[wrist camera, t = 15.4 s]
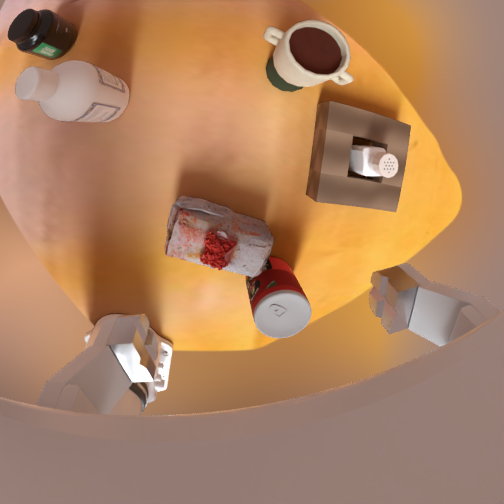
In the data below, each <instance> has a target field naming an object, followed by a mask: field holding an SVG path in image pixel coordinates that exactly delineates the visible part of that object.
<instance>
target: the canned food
mask: <svg viewBox="0 0 504 504" xmlns="http://www.w3.org/2000/svg"><path fill="white" fill-rule="evenodd" d="M264 269H265V270H263V271H262V272H261V274H260V275H258V276H255V277H254V278H252V277H250V276H246V284H247V289H248V294H249V299H250V304H251V309H252V314H253V318H254V322H255V324H256V326H257V328H258V329H259V331H260V332H262V333H263V334H265V335H267V336H269V337H272V338H285V337H290V336H293V335H295V334H297V333H298V332H300V331H301V330H302V329H303V328H305V327H306V325H307V324H308V322H309V320H310V318H311V307H310V304H309V301H308V299H307V297H306V295H305V293H304V292H303V290H302V288H301V286H300V284H299V282H298V280H297V279H296V277H295V275H294V273H293V271H292V269H291V268H290V266H289V265H288V264H287V263H286V262H285V261H283V260H282V259H279V258H277V257H269V258H268V260H267V262H266V264H265V266H264Z"/></svg>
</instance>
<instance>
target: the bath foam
mask: <svg viewBox="0 0 504 504" xmlns="http://www.w3.org/2000/svg"><path fill="white" fill-rule="evenodd" d="M15 93H16V96H17V97H18V98H19V99H21V100H32V101H38V102H39V105H40V107H41V109H42V110H43V112H44V113H45V114H46V115H47V116H49V117H50V118H52V119H54V120H58V121H62V122H110V121H112V120H115V119H116V118H118V117H119V116H120V115H121V114H122V113H123V112H124V110H125V109H126V107H127V105H128V102H129V97H130V93H129V88H128V86H127V84H126V83H125V82H124V81H123V80H122V79H120V78H118V77H116V76H114V75H112V74H111V73H109V72H107V71H105V70H103V69H101V68H99V67H96V66H94V65H92V64H90V63H88V62H85V61H79V60H73V61H67V62H63V63H61V64H59V65H57V66H55V67H54V68H52V69H51V70H46V69H42V68H38V67H29V68H27V69H25V70H24V71H23V72H22V73H21V74H20V76H19V77H18V79H17V82H16V85H15Z"/></svg>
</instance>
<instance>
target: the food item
mask: <svg viewBox="0 0 504 504" xmlns="http://www.w3.org/2000/svg"><path fill="white" fill-rule="evenodd" d="M167 235H168V236H167V239H166V243H165V253H166V255H167V256H170V257H176V258H179V259H182V260H186V261H189V262H193V263H196V264H200V265H204V266H209V267H210V268H211V269H213V268H218V269H219V270H221V269H222V270H225V271H230V272H236V273H238V274H241V275H246V276H250V277H252V278H254V277H255V276H258V275H260V274H261V272H262V271H263V270H265V269H264V266H265V264H266V262H267V260H268V258H269V255H270V253H271V250H272V247H273V243H274V238H273V236H272V234H271V232H270V230H269V229H268V226H267V225H266V222H265V221H260V220H259V219H256V218H252V217H249V216H247V215H243V214H238V213H235V212H234V211H232V210H231V209H230V208H229V207H227V206H221V205H218V204H216V203H211V202H210V201H207V200H204V199H201V198H193V197H189V196H181V195H180V196H179V199H177V201H176V202H175V204H174V205H173V206H172V208H171V212H170V216H169V220H168V224H167Z"/></svg>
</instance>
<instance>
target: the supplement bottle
mask: <svg viewBox="0 0 504 504" xmlns="http://www.w3.org/2000/svg"><path fill="white" fill-rule="evenodd" d="M76 36H77V30H76V27H75V26H74V25H73V24H72V23H70V22H69V21H67V20H65V19H64V18H62V17H61V16H59V15H57V14H56V13H54V12H52V11H50V10H47V9H44V10H40V11H35V10H33V9H26V10H25V11H23V12H21V13H20V14H19V15H18V16H17V17H16V18H15V19H14V21H13V22H12V24H11V25H10V28H9V31H8V39H9V40H11V41H13V42H15V43H16V45H17V48H18V49H19V50H20V51H22V52H25V53H28V54H32V55H35V56H38V57H42V58H45V59H48V60H55V59H58V58H60V57H62V56H63V55H64V54H66V53H67V52H68V51H69V50H70V48H71V47H72V46H73V44H74V42H75V39H76Z"/></svg>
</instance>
